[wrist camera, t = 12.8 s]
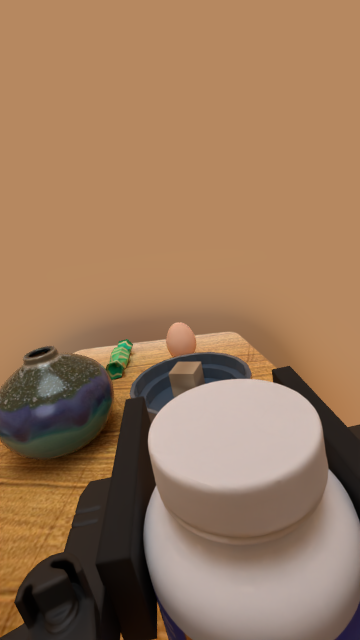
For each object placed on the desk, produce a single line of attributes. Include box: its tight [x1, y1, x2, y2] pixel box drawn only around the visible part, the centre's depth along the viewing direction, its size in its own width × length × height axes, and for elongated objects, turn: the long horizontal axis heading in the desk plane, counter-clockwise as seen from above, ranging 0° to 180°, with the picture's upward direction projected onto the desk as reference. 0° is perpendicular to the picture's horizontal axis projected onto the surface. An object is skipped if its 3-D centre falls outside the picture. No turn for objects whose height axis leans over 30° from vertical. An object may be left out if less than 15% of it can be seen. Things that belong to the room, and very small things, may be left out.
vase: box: [0, 346, 114, 460], centre depth 42 cm, size 15×15×13 cm
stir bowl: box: [130, 352, 252, 424], centre depth 45 cm, size 17×17×4 cm
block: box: [169, 362, 205, 397], centre depth 48 cm, size 4×4×4 cm
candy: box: [106, 339, 133, 380], centre depth 64 cm, size 12×3×4 cm
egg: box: [166, 322, 196, 357], centre depth 61 cm, size 6×6×8 cm
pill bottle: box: [143, 379, 360, 640], centre depth 9 cm, size 5×5×10 cm
